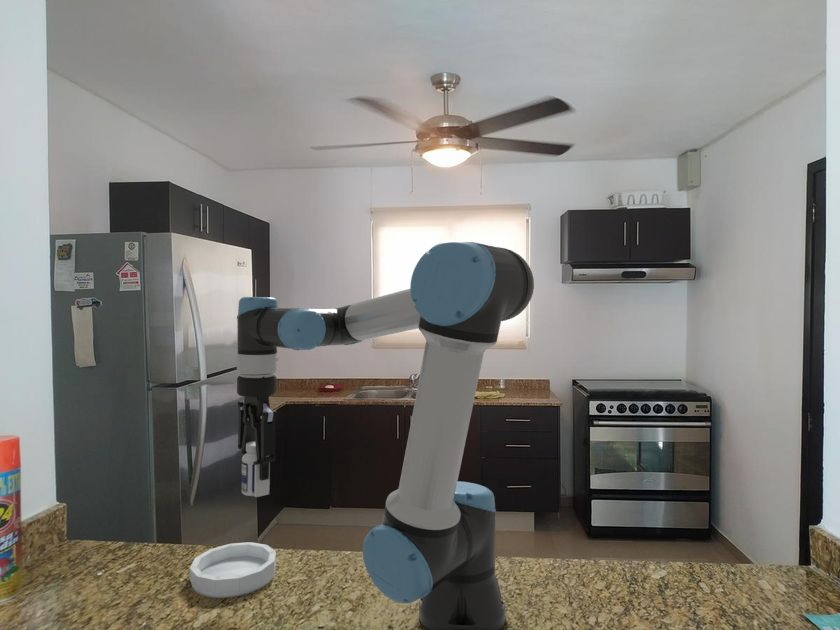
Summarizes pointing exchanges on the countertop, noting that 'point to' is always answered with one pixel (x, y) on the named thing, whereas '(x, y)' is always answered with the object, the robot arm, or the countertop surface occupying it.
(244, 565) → the dish
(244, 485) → the pill bottle
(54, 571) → the countertop surface
